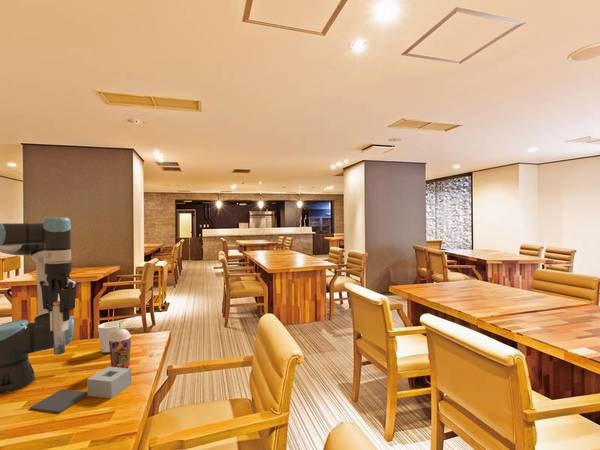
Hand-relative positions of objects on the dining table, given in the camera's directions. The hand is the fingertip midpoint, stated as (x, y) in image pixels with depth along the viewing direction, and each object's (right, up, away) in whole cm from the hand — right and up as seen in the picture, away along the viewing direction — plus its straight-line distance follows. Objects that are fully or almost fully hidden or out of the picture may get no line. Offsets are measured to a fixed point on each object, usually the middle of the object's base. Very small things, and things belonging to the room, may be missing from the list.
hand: (59, 329), depth 114 cm
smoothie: (+8, -25, +25) cm, 36 cm away
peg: (0, -8, 0) cm, 8 cm away
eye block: (+13, -25, +8) cm, 29 cm away
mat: (0, -25, +1) cm, 25 cm away
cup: (-8, -24, +44) cm, 51 cm away
